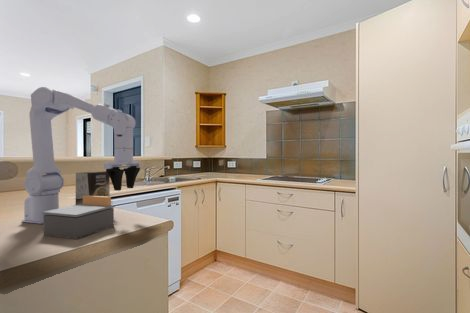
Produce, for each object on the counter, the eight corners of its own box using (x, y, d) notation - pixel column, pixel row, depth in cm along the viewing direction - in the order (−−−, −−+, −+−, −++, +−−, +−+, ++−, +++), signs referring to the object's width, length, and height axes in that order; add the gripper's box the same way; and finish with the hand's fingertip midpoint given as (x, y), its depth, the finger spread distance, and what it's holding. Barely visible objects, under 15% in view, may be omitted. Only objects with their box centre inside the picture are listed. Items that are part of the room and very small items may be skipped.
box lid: (42, 214, 63) (42, 202, 63) (84, 204, 75) (83, 195, 75) (76, 217, 59) (76, 204, 59) (114, 207, 71) (114, 196, 71)
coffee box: (90, 220, 77) (90, 172, 77) (74, 219, 79) (74, 172, 79) (110, 214, 86) (110, 170, 86) (95, 213, 88) (95, 170, 88)
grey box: (43, 235, 63) (43, 215, 63) (84, 223, 75) (83, 206, 75) (76, 239, 60) (76, 218, 60) (113, 226, 71) (113, 208, 71)
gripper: (116, 147, 70) (116, 192, 70) (147, 149, 84) (148, 186, 84) (98, 148, 72) (98, 191, 72) (131, 149, 86) (132, 186, 86)
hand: (124, 189), depth 78 cm, fingers open, 5 cm apart
